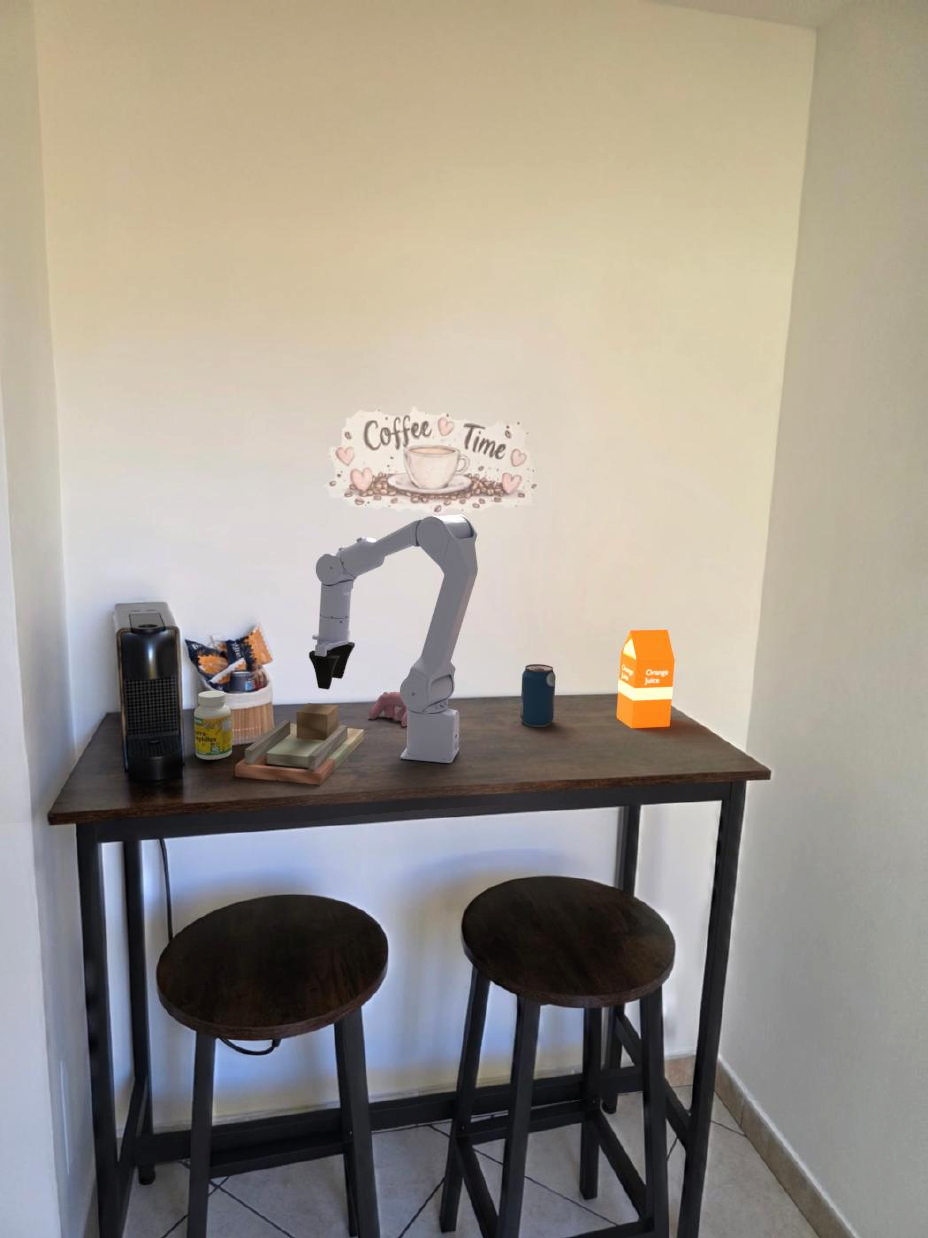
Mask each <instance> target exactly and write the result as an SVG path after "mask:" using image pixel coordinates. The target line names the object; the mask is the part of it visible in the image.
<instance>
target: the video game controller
mask: <svg viewBox="0 0 928 1238" xmlns="http://www.w3.org/2000/svg"><path fill="white" fill-rule="evenodd" d="M396 707H398V708H400V709H399V710H398V711H397V709H396ZM383 712H384V716H385V717H386V719H387V718H388V719H390V718H392V719H394V718H395V717H396V719H397V720H398V721H400V722H401V726H402V727H404V728H406V727H407V710H406V706H405V705H404V703H403V702H402V700H401V697H400V691H393V692H391V691H388V692H387V691H384V692H383V694H381V695H379V697H378V698H377V700H376V702H375V703H374V704H373V705H372V707H371V709H370V710H369V714H368V715H369V716H368V717H369V719H370V720H374V719H377V718H378V717H379V716H380V715H381V714H382V713H383ZM405 726H406V727H405Z"/></svg>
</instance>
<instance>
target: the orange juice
mask: <svg viewBox="0 0 928 1238" xmlns="http://www.w3.org/2000/svg"><path fill="white" fill-rule="evenodd" d="M673 652H674V651H673V648H672V643H671V639H670V634H669V629H641V630H640V629H639V630H638V629H635V630H633V629H631V630H629V633H628V635H627V637H626V640H625V642H624V645H623V646H622V649H621V652H620V657H619V658H620V660H619V672H618V673H619V675H618V687H617V691H618V692H617V703H616V704H617V707H616V718H617V719H618V721H619V720H620V721H621V722H622V723H624V724H625V725H626V726H627V727H629V728H631V729H642V728H661V727H662V728H663V727H664V728H665V727H670V723H671V711H672V700H673V691H674V684H673V683H674V674H675V661H676V659H675V656H674V653H673Z"/></svg>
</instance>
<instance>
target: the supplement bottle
mask: <svg viewBox="0 0 928 1238" xmlns="http://www.w3.org/2000/svg"><path fill="white" fill-rule="evenodd" d="M197 702H198V706H197V707H196V708H195V710H194V712H193V719H194V720H193V723H194V726H193V727H194V744H195V745H194V747H195V755H196V756H197V758H198V759H202V760H207V761H208V760H209V761H211V760H221V759H225V758H228V757H229V756H230V755H231V754H232V753H233V741H232V740H233V735H232V710H231V707H229V705H226V702H227V698H226V692H224V691H222V690H206V691H201V692H199V693H198V694H197Z"/></svg>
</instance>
